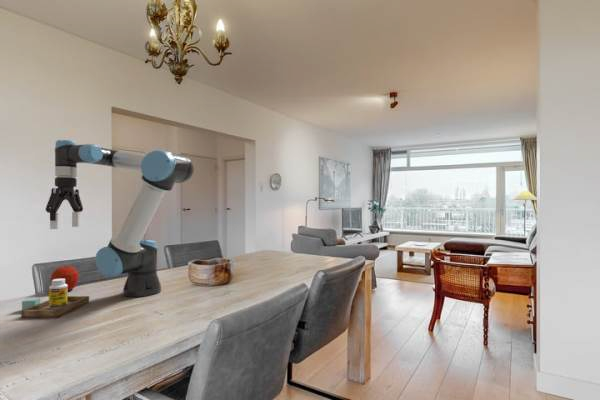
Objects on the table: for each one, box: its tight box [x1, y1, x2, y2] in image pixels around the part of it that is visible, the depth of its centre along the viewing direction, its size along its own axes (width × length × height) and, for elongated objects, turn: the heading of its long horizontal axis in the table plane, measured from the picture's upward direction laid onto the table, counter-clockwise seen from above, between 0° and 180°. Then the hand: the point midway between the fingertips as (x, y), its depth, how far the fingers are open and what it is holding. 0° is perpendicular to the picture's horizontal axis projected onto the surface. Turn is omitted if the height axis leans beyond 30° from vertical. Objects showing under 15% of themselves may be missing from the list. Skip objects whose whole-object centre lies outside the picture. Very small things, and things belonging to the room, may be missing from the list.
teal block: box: [21, 297, 41, 311], centre depth 123 cm, size 4×4×4 cm
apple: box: [50, 265, 80, 291], centre depth 150 cm, size 10×10×12 cm
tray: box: [20, 295, 90, 319], centre depth 123 cm, size 12×18×2 cm, turn 2°
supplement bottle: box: [48, 279, 69, 309], centre depth 123 cm, size 6×6×10 cm
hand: (65, 227), depth 142 cm, fingers open, 13 cm apart
